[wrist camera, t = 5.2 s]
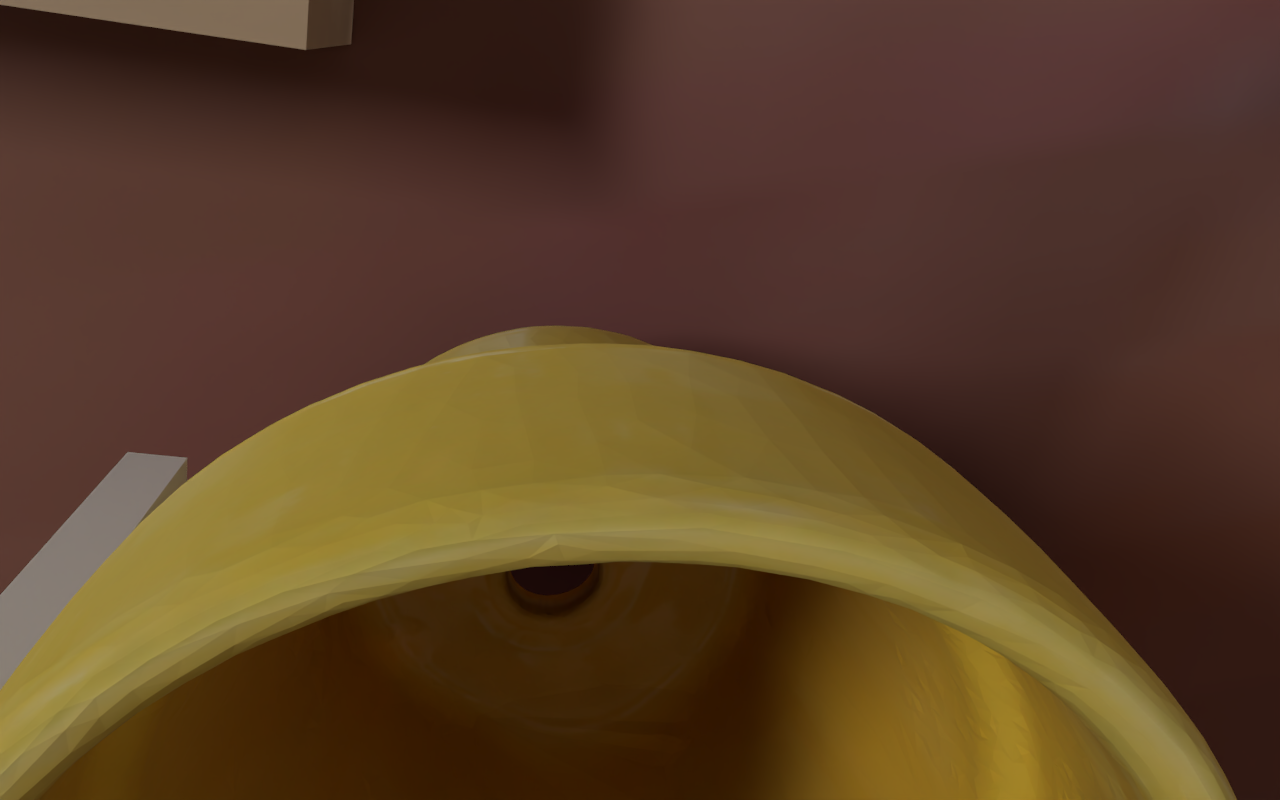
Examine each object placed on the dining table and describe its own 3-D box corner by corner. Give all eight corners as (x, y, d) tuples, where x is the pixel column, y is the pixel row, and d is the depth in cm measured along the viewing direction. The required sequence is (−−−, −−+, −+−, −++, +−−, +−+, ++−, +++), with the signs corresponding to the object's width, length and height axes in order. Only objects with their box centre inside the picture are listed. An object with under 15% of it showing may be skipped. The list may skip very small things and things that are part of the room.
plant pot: (674, 896, 20) (808, 1674, 11) (97, 671, 17) (-393, 1439, 8) (1015, 406, 17) (1580, 865, 8) (398, 57, 15) (193, 143, 5)
